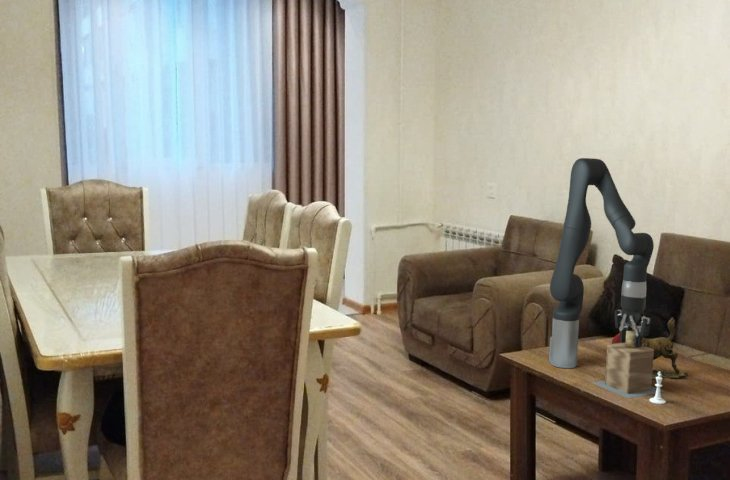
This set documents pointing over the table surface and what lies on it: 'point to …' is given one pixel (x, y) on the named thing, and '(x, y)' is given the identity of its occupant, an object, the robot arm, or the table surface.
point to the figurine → (664, 352)
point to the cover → (629, 366)
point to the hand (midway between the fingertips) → (630, 344)
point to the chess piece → (658, 392)
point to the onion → (616, 339)
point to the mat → (602, 384)
